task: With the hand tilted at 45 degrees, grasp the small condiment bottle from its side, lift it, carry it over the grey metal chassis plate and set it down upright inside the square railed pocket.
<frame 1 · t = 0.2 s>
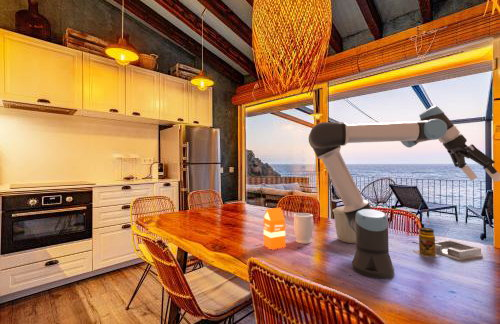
hand: (485, 179, 102), 35 cm above the table, tool tilted 35°, fingers open, 13 cm apart
orange juice: (274, 246, 130), on the table
condiment: (426, 254, 116), on the table
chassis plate: (454, 253, 116), on the table
jar: (303, 241, 137), on the table
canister: (350, 241, 137), on the table
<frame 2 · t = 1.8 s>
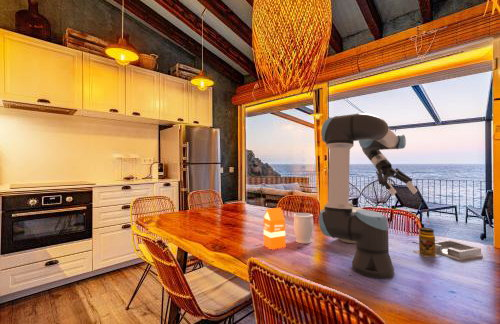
hand: (405, 193, 126), 27 cm above the table, tool tilted 45°, fingers open, 13 cm apart
nothing on the table moved.
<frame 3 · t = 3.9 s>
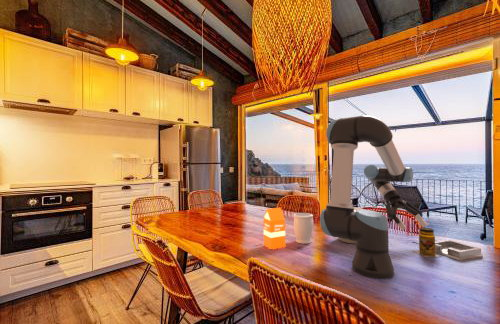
hand: (415, 227, 122), 11 cm above the table, tool tilted 45°, fingers open, 13 cm apart
nothing on the table moved.
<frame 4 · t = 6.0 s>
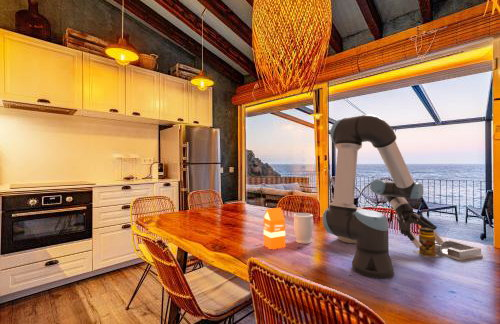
hand: (430, 245, 113), 5 cm above the table, tool tilted 45°, fingers open, 13 cm apart
nothing on the table moved.
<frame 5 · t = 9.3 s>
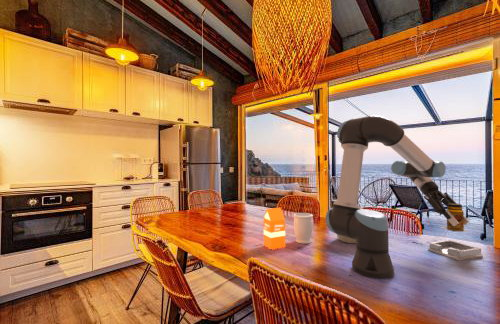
hand: (461, 223, 113), 14 cm above the table, tool tilted 45°, fingers closed on condiment, 6 cm apart
condiment: (453, 229, 116), point 11 cm above the table, touching gripper
everything else where it was.
when the fingers open (6 cm above the table, at t = 11.5 s): condiment drops 1 cm, resting on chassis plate.
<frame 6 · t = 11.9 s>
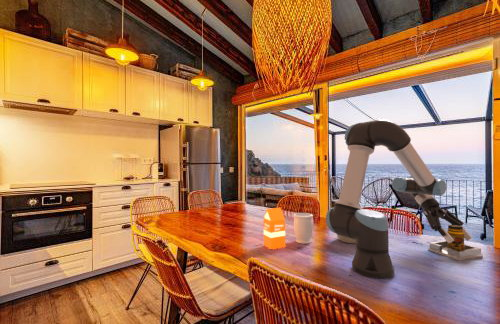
hand: (460, 240, 113), 7 cm above the table, tool tilted 45°, fingers open, 11 cm apart
condiment: (454, 251, 116), point 1 cm above the table, touching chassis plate
everything else where it was.
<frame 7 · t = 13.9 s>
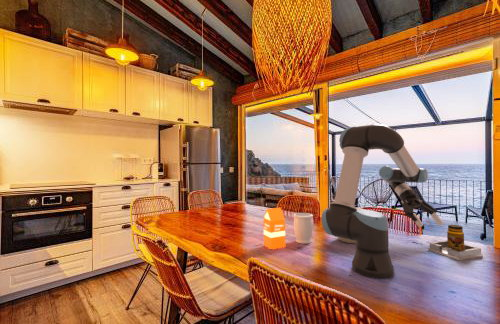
hand: (431, 225, 126), 10 cm above the table, tool tilted 45°, fingers open, 13 cm apart
nothing on the table moved.
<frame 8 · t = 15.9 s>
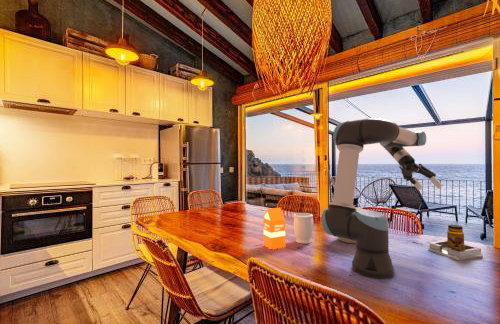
hand: (430, 187, 126), 30 cm above the table, tool tilted 45°, fingers open, 13 cm apart
nothing on the table moved.
at the end: condiment 0.2 cm off-centre on the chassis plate, point 0.8 cm above the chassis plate's base; condiment tilted 0°; the gripper is holding nothing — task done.
